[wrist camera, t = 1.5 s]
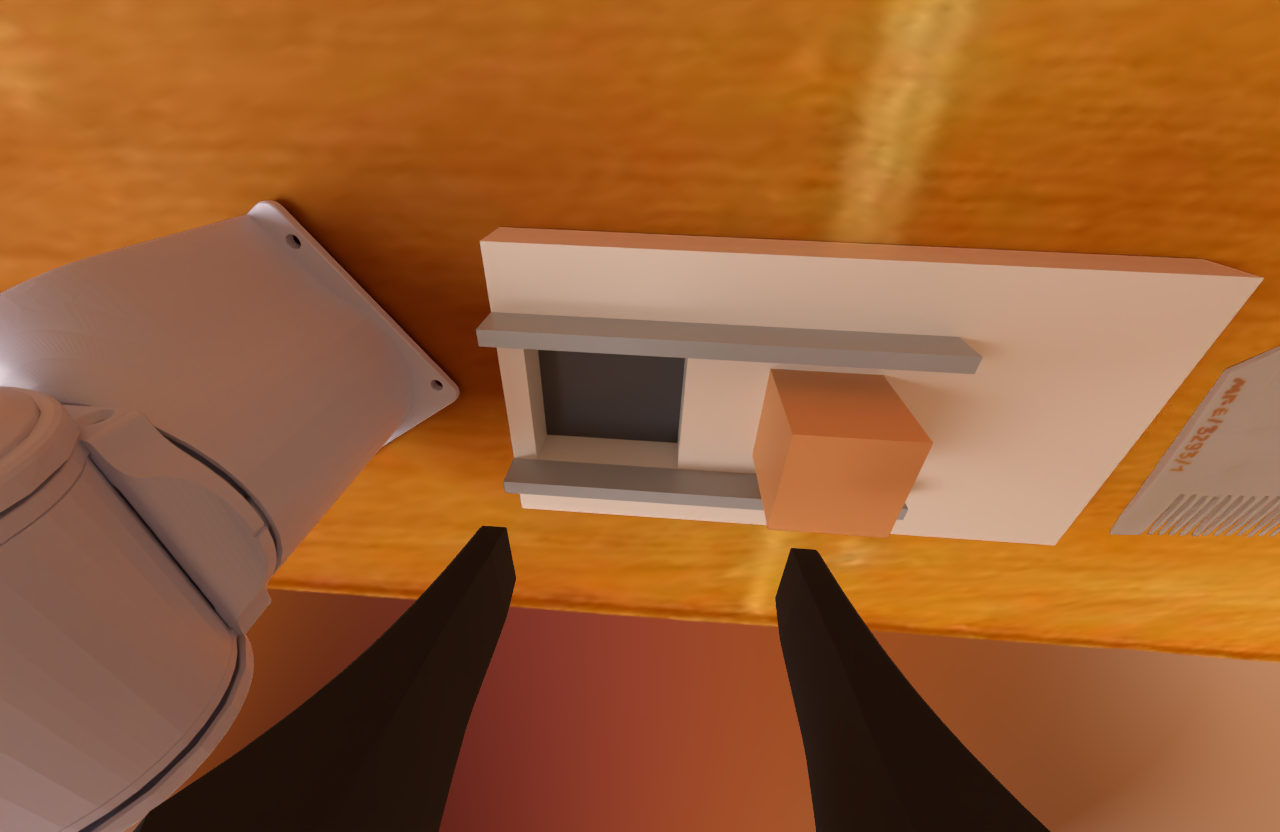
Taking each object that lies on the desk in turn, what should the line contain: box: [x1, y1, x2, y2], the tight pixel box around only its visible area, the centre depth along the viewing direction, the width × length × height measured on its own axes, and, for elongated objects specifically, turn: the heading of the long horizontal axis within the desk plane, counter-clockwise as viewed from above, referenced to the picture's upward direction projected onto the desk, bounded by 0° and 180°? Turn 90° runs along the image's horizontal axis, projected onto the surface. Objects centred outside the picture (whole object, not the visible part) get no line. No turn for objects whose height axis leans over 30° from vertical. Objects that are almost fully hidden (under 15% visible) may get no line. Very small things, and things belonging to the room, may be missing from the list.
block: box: [752, 369, 933, 538], centre depth 16 cm, size 4×4×4 cm
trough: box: [476, 227, 1264, 545], centre depth 18 cm, size 24×12×4 cm, turn 88°
